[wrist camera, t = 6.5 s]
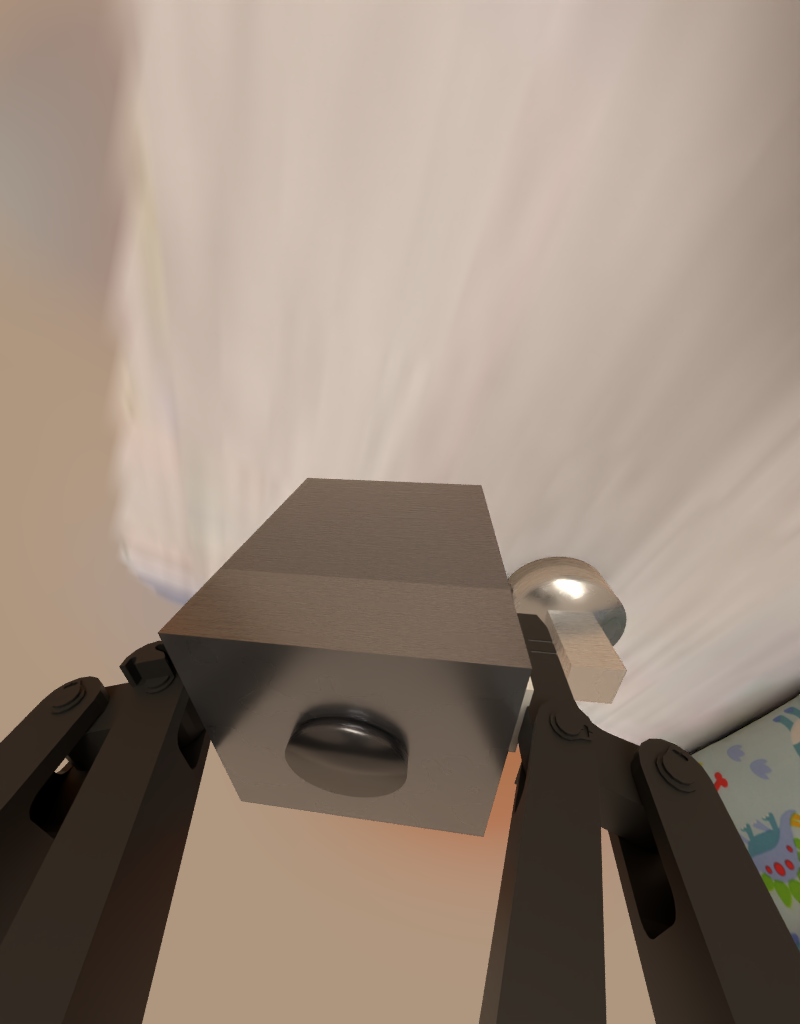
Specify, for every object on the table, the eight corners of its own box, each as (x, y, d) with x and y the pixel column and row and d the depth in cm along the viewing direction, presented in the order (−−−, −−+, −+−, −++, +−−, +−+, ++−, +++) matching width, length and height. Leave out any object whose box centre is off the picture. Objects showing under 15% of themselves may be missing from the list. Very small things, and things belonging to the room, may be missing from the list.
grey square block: (307, 478, 13) (145, 645, 6) (481, 485, 13) (536, 685, 5) (325, 605, 17) (235, 813, 9) (464, 617, 16) (484, 852, 9)
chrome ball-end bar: (313, 544, 26) (271, 612, 19) (619, 559, 24) (692, 642, 17) (324, 619, 29) (291, 699, 23) (590, 638, 27) (641, 731, 21)
